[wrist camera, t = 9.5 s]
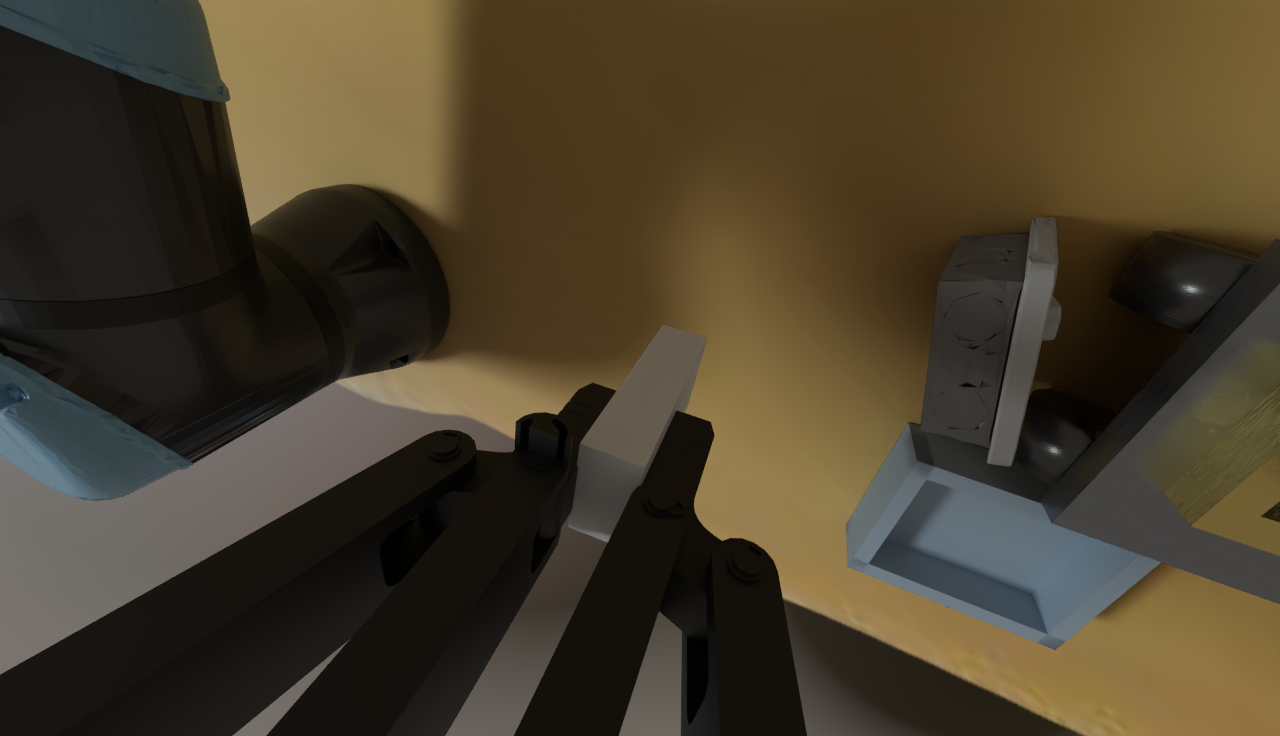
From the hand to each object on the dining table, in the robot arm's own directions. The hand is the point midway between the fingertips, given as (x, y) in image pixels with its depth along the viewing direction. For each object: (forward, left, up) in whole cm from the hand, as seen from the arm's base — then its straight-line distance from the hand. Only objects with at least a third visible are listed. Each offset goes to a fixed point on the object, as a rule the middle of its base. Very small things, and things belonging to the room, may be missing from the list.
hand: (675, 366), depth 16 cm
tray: (+20, -13, -16) cm, 28 cm away
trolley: (+24, 0, -16) cm, 29 cm away
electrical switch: (+13, 0, -16) cm, 21 cm away
